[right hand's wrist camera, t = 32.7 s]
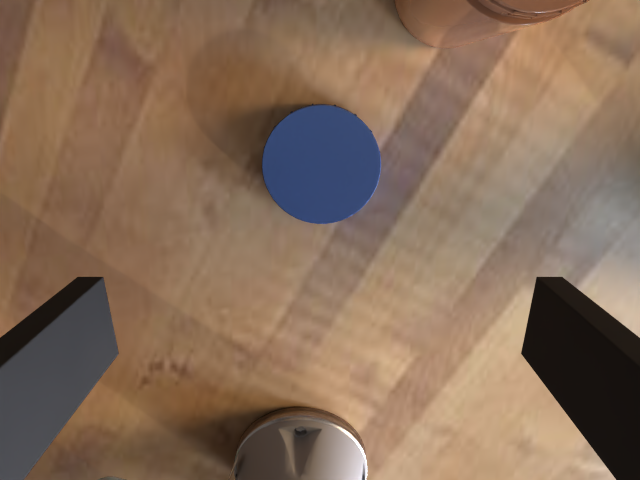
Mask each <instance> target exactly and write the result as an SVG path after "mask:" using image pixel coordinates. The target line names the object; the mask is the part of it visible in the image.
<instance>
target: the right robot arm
mask: <svg viewBox="0 0 640 480" xmlns="http://www.w3.org/2000/svg"><path fill="white" fill-rule="evenodd" d="M118 354H119V352H118V347H117V343H116V338H115V333H114V328H113V323H112V318H111V313H110V308H109V303H108V298H107V293H106V288H105V283H104V278H103V277H77V278H76V279H75V280H73V281H72V282H71V283H70V284H68V285H67V286H66V287H65V288H63V289H62V290H61V291H59V292H58V293H57V294H56V295H54V296H53V297H52V298H51V299H49V300H48V301H47V302H45V303H44V304H43V305H42V306H40V307H39V308H38V309H36V310H35V311H34V312H33V313H31V314H30V315H29V316H28V317H26V318H25V319H24V320H22V321H21V322H20V323H19V324H17V325H16V326H15V327H14V328H12V329H11V330H10V331H8V332H7V333H6V334H5V335H3V336H2V337H1V338H0V480H24V478H25V477H26V476H27V474H28V473H29V472H30V470H31V469H32V468H33V467H34V465H35V464H36V463H37V461H38V460H39V459H40V457H41V456H42V455H43V453H44V452H45V451H46V449H47V448H48V447H49V445H50V444H51V443H52V441H53V440H54V439H55V437H56V436H57V435H58V433H59V432H60V431H61V429H62V428H63V427H64V425H65V424H66V423H67V421H68V420H69V419H70V418H71V416H72V415H73V414H74V412H75V411H76V410H77V408H78V407H79V406H80V404H81V403H82V402H83V400H84V399H85V398H86V396H87V395H88V394H89V392H90V391H91V390H92V388H93V387H94V386H95V384H96V383H97V382H98V380H99V379H100V378H101V376H102V375H103V374H104V372H105V371H106V370H107V368H108V367H109V366H110V365H111V363H112V362H113V361H114V359H115V358H116V357H117V355H118ZM521 354H522V355H523V357H524V358H525V359H526V361H527V362H528V363H529V365H530V366H531V367H532V368H533V370H534V371H535V372H536V374H537V375H538V376H539V378H540V379H541V380H542V382H543V383H544V384H545V386H546V387H547V388H548V390H549V391H550V392H551V394H552V395H553V396H554V398H555V399H556V400H557V402H558V403H559V404H560V406H561V407H562V408H563V410H564V411H565V412H566V414H567V415H568V416H569V418H570V419H571V420H572V421H573V423H574V424H575V425H576V427H577V428H578V429H579V431H580V432H581V433H582V435H583V436H584V437H585V439H586V440H587V441H588V443H589V444H590V445H591V447H592V448H593V449H594V451H595V452H596V453H597V455H598V456H599V457H600V459H601V460H602V461H603V463H604V464H605V465H606V467H607V468H608V469H609V470H610V472H611V473H612V474H613V476H614V477H615V478H616V480H640V338H639V337H638V336H637V335H635V334H634V333H633V332H632V331H630V330H629V329H628V328H626V327H625V326H624V325H623V324H621V323H620V322H619V321H618V320H616V319H615V318H614V317H612V316H611V315H610V314H609V313H607V312H606V311H605V310H604V309H602V308H601V307H600V306H598V305H597V304H596V303H595V302H593V301H592V300H591V299H589V298H588V297H587V296H586V295H584V294H583V293H582V292H581V291H579V290H578V289H577V288H575V287H574V286H573V285H572V284H570V283H569V282H568V281H567V280H565V279H564V278H563V277H537V278H536V283H535V288H534V293H533V298H532V303H531V308H530V313H529V318H528V323H527V328H526V333H525V338H524V343H523V347H522V352H521ZM233 470H234V475H235V480H366V477H367V462H366V454H365V448H364V444H363V442H362V440H361V438H360V436H359V434H358V433H357V432H356V430H355V429H354V428H353V427H352V426H351V425H350V424H349V423H347V422H346V421H345V420H343V419H341V418H340V417H338V416H336V415H334V414H332V413H329V412H326V411H323V410H319V409H315V408H305V407H294V408H286V409H281V410H277V411H274V412H271V413H269V414H267V415H265V416H263V417H261V418H259V419H258V420H256V421H255V422H254V423H253V424H251V425H250V426H249V427H248V428H247V430H246V431H245V432H244V434H243V435H242V437H241V439H240V441H239V444H238V448H237V452H236V456H235V461H234V465H233V468H232V470H231V472H230V476H229V479H230V477H231V474H232V472H233ZM98 480H125V479H121V478H118V477H104V478H101V479H98Z"/></svg>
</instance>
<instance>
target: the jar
mask: <svg viewBox="0 0 640 480" xmlns="http://www.w3.org/2000/svg"><path fill="white" fill-rule="evenodd" d="M394 1H395V5H396V9H397V12H398V15H399V17H400V19H401V21H402V23H403V25H404V26H405V27H406V29H407V30H408V31H409V32H410V33H411V34H412V35H413V36H414V37H415V38H416V39H418V40H419V41H421V42H423V43H425V44H427V45H429V46H432V47H437V48H455V47H460V46H464V45H467V44H470V43H474V42H477V41H481V40H484V39H488V38H491V37H495V36H498V35H502V34H505V33H509V32H512V31H515V30H519V29H522V28H526V27H529V26H533V25H536V24H540V23H543V22H546V21H549V20H552V19H555V18H557V17H559V16H561V15H563V14H565V13H567V12H569V11H571V10H572V9H574V8H575V7H577V6H579V5H581V4H583V3H586V2H588V1H589V0H394Z"/></svg>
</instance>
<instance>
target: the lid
mask: <svg viewBox="0 0 640 480" xmlns="http://www.w3.org/2000/svg"><path fill="white" fill-rule="evenodd" d="M380 171H381V159H380V151H379V148H378V145H377V142H376V140H375V138H374V136H373V134H372V131H371V130H369V128H368V127H367V126H366V125H365V124H364V122H363V121H362V120H360V119H359V118H358V117H357V115H356V114H353V113H351V112H349V111H348V110H345V109H343V108H341V107H337V106H336V105H327V104H315V105H313V104H312V105H309V106H306V107H302V108H300V109H298V110H295V111H294V112H293V111H292V112H290V114H289V115H287V116H286V117H285V118H284V119H283V120H282V121H280V122H279V124H278V125H277V126H275V127H274V130H273V131H272V132H271V134H270V136H269V138H268V140H267V142H266V145H265V147H264V152H263V158H262V172H263V177H264V181H265V184H266V187H267V189H268V191H269V193H270V195H271V196H272V198H273V199H274V201H275V202H276V203H277V204H278V205H279V206H280V207H281V208H282V209H283V210H284V211H285V212H287V213H288V214H290V215H291V216H293V217H295V218H297V219H300V220H302V221H305V222H310V223H317V224H327V223H333V222H337V221H341V220H343V219H346V218H348V217H350V216H351V215H353V214H355V213H356V212H357V211H359V210H360V209H361V208H362V207H363V206H364V205H365V204H366V203H367V202H368V200H369V199H370V198H371V196H372V195H373V193H374V191H375V189H376V187H377V184H378V181H379V177H380Z"/></svg>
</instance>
